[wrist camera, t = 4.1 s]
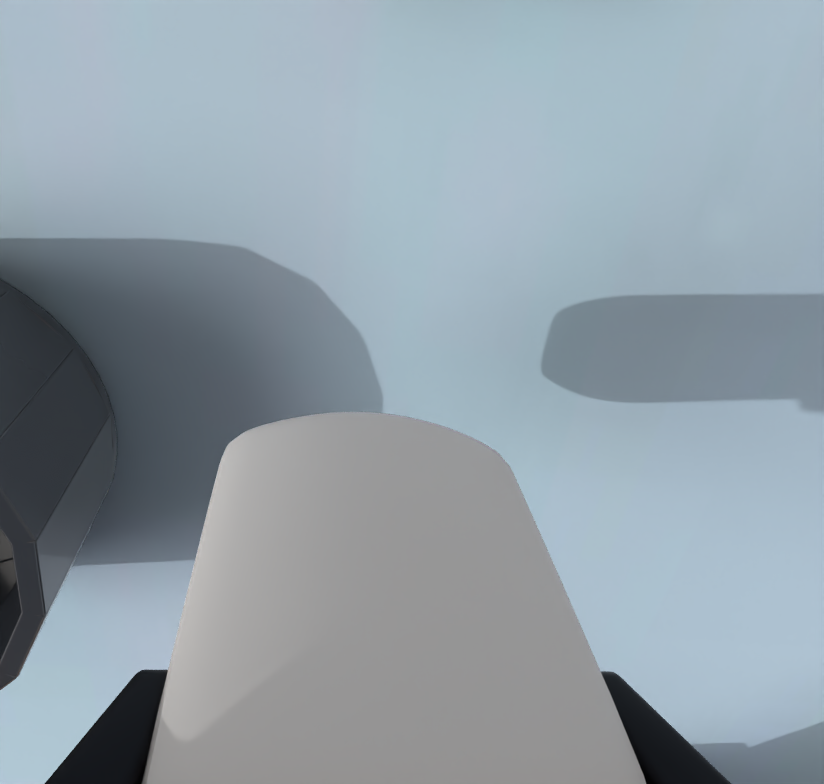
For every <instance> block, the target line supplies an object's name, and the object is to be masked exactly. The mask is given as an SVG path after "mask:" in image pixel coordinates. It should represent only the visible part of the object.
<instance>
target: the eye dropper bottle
mask: <svg viewBox="0 0 824 784" xmlns="http://www.w3.org/2000/svg"><path fill="white" fill-rule="evenodd" d="M142 784H646V781H645V778H644V775H643V772H642V770H641V768H640V765H639V763H638V760H637V758H636V755H635V753H634V750H633V748H632V746H631V743H630V741H629V738H628V736H627V733H626V731H625V728H624V726H623V724H622V721H621V719H620V716H619V714H618V711H617V709H616V706H615V704H614V702H613V699H612V697H611V694H610V692H609V690H608V687H607V685H606V683H605V681H604V678H603V676H602V674H601V671H600V669H599V667H598V665H597V662H596V660H595V658H594V655H593V653H592V651H591V648H590V646H589V644H588V642H587V639H586V637H585V635H584V632H583V630H582V628H581V626H580V623H579V621H578V619H577V616H576V614H575V612H574V609H573V607H572V605H571V603H570V600H569V598H568V596H567V593H566V591H565V589H564V586H563V584H562V582H561V580H560V577H559V575H558V573H557V571H556V568H555V566H554V564H553V562H552V559H551V557H550V555H549V552H548V550H547V548H546V546H545V543H544V541H543V539H542V537H541V534H540V532H539V530H538V528H537V525H536V523H535V521H534V519H533V516H532V514H531V512H530V510H529V507H528V505H527V503H526V501H525V498H524V496H523V494H522V492H521V489H520V487H519V485H518V483H517V480H516V478H515V476H514V474H513V472H512V470H511V468H510V466H509V465H508V464H507V462H506V461H505V460H504V459H503V458H502V457H501V455H500V454H499V453H498V452H497V451H495V450H494V449H492V448H490V447H489V446H487V445H485V444H484V443H482V442H480V441H478V440H476V439H474V438H472V437H470V436H468V435H465V434H463V433H460V432H458V431H455V430H453V429H450V428H447V427H444V426H441V425H438V424H434V423H431V422H427V421H423V420H419V419H415V418H410V417H405V416H399V415H393V414H385V413H374V412H332V413H322V414H313V415H307V416H300V417H294V418H289V419H284V420H279V421H276V422H272V423H268V424H264V425H261V426H258V427H255V428H252V429H249V430H247V431H245V432H243V433H242V434H241V435H239V436H238V437H236V438H235V439H234V440H232V441H231V442H230V443H229V444H228V445H227V447H226V449H225V451H224V454H223V456H222V459H221V461H220V464H219V468H218V472H217V476H216V480H215V483H214V487H213V491H212V495H211V499H210V503H209V507H208V511H207V515H206V519H205V523H204V527H203V531H202V535H201V539H200V543H199V547H198V551H197V555H196V559H195V563H194V567H193V571H192V575H191V579H190V583H189V587H188V591H187V595H186V599H185V603H184V607H183V611H182V615H181V619H180V624H179V628H178V632H177V636H176V640H175V644H174V648H173V652H172V656H171V660H170V664H169V668H168V672H167V676H166V681H165V685H164V689H163V693H162V697H161V701H160V705H159V709H158V714H157V718H156V722H155V727H154V731H153V736H152V740H151V745H150V749H149V754H148V758H147V762H146V767H145V771H144V776H143V780H142Z"/></svg>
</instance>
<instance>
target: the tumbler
mask: <svg viewBox="0 0 824 784" xmlns="http://www.w3.org/2000/svg"><path fill="white" fill-rule="evenodd" d="M116 458H117V433H116V426H115V419H114V414H113V411H112V408H111V404H110V401H109V398H108V395H107V392H106V390H105V388H104V386H103V384H102V382H101V379H100V377H99V375H98V373H97V371H96V370H95V368H94V367H93V365H92V364H91V362H90V360H89V359H88V357H87V356H86V354H85V352H84V351H83V350H82V349H81V348H80V346H79V345H78V344H77V343H76V341H75V340H74V339H73V338H72V336H71V335H70V334H69V333H68V332H67V331H66V330H65V329H64V328H63V327H62V326H61V325H60V324H59V323H58V322H57V321H56V320H55V319H54V318H53V317H52V316H51V315H50V314H49V313H48V312H46V311H45V310H44V309H43V308H41V307H40V306H39V305H37V304H36V303H35V302H34V301H32V300H31V299H30V298H29V297H27V296H26V295H24V294H23V293H21V292H20V291H18V290H16V289H15V288H13V287H12V286H10V285H9V284H7V283H5V282H4V281H2V280H0V690H1V689H3V688H4V687H5V686H7V685H8V684H9V683H11V682H12V681H13V680H15V679H16V678H17V677H18V676H19V674H20V672H21V670H22V668H23V666H24V664H25V662H26V660H27V658H28V656H29V654H30V652H31V650H32V648H33V646H34V644H35V641H36V639H37V637H38V635H39V633H40V631H41V629H42V627H43V625H44V623H45V621H46V619H47V617H48V615H49V613H50V611H51V609H52V606H53V604H54V602H55V600H56V598H57V596H58V594H59V592H60V590H61V588H62V586H63V584H64V582H65V580H66V578H67V576H68V574H69V571H70V569H71V567H72V565H73V563H74V561H75V559H76V557H77V555H78V553H79V551H80V549H81V547H82V545H83V543H84V541H85V539H86V536H87V534H88V532H89V530H90V528H91V526H92V524H93V522H94V520H95V517H96V515H97V513H98V511H99V509H100V507H101V504H102V502H103V500H104V498H105V496H106V494H107V492H108V489H109V487H110V485H111V483H112V481H113V479H114V469H115V464H116Z"/></svg>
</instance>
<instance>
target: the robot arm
mask: <svg viewBox="0 0 824 784" xmlns="http://www.w3.org/2000/svg"><path fill="white" fill-rule="evenodd" d="M167 672H168V670H141V671H140V672H138V673H137V674H136V675H135V676H134V677H133V678H132V679H131V680H130V682H129V683H128V684H127V685H126V686H125V688H124V689H123V690H122V691H121V693H120V694H119V695H118V696H117V697H116V699H115V700H114V701H113V702H112V703H111V705H110V706H109V707H108V708H107V709H106V711H105V712H104V713H103V714H102V715H101V717H100V718H99V719H98V720H97V721H96V723H95V724H94V725H93V726H92V727H91V729H90V730H89V731H88V732H87V733H86V735H85V736H84V737H83V738H82V739H81V741H80V742H79V743H78V744H77V745H76V747H75V748H74V749H73V750H72V751H71V753H70V754H69V755H68V756H67V758H66V759H65V760H64V761H63V762H62V764H61V765H60V766H59V767H58V768H57V770H56V771H55V772H54V773H53V774H52V776H51V777H50V778H49V779H48V780H47V782H46V783H45V784H142V780H143V776H144V771H145V767H146V762H147V758H148V754H149V749H150V745H151V740H152V736H153V731H154V727H155V722H156V718H157V714H158V709H159V705H160V701H161V697H162V693H163V689H164V685H165V681H166V676H167ZM601 674H602V676H603V678H604V681H605V683H606V685H607V687H608V690H609V692H610V694H611V697H612V699H613V702H614V704H615V706H616V709H617V711H618V714H619V716H620V719H621V721H622V724H623V726H624V728H625V731H626V733H627V736H628V738H629V741H630V743H631V746H632V748H633V750H634V753H635V755H636V758H637V760H638V763H639V765H640V768H641V770H642V772H643V775H644V778H645V781H646V784H731V783H730V782H729V781H728V780H727V779H726V778H725V777H724V776H723V775H722V774H721V773H719V772H718V771H717V770H716V769H715V768H714V767H713V766H712V765H711V764H710V763H709V762H708V761H707V760H706V759H705V758H704V757H703V756H702V755H701V754H700V753H699V752H698V751H697V750H696V749H695V748H694V747H693V746H691V745H690V744H689V743H688V742H687V741H686V740H685V739H684V738H683V737H682V736H681V735H680V734H679V733H678V732H677V731H676V730H675V729H674V728H673V727H672V726H671V725H670V724H669V723H668V722H667V721H666V720H665V719H663V718H662V717H661V716H660V715H659V714H658V713H657V712H656V711H655V710H654V709H653V708H652V707H651V706H650V705H649V704H648V703H647V702H646V701H645V700H644V699H643V698H642V697H641V696H640V695H639V694H638V693H637V692H635V691H634V690H633V689H632V688H631V687H630V686H629V685H628V684H627V683H626V682H625V681H624V680H623V679H622V678H621V677H620V676H619V675H617V674H616V673H614V672H601Z"/></svg>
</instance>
